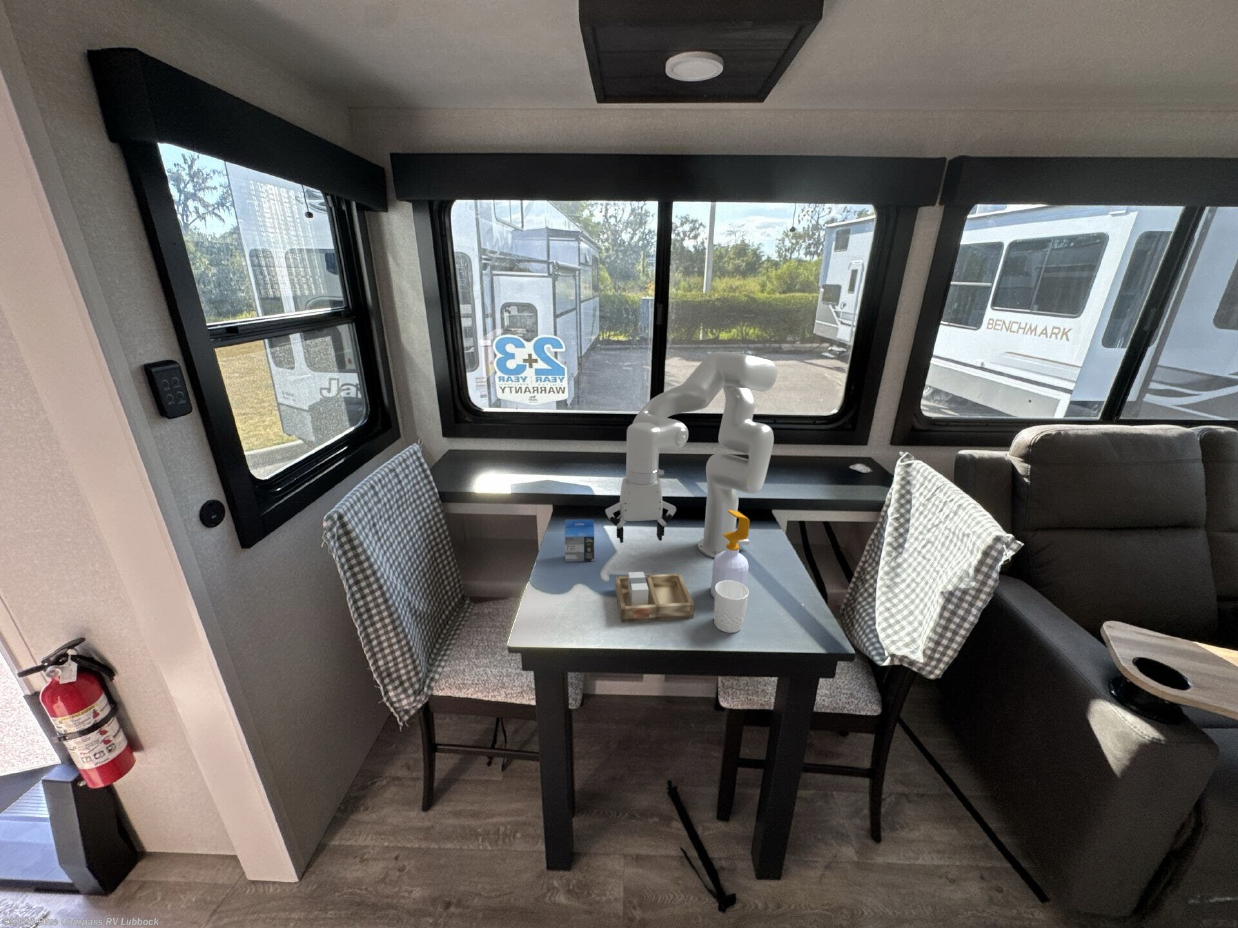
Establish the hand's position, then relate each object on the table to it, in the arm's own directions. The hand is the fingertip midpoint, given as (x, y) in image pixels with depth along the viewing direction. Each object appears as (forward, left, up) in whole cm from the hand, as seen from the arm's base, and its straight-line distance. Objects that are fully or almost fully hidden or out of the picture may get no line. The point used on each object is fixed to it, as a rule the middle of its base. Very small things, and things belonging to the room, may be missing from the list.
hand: (640, 539), depth 118 cm
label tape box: (+14, -23, -19) cm, 33 cm away
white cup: (-21, +11, -19) cm, 30 cm away
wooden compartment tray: (-4, +1, -19) cm, 19 cm away
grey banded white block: (0, +1, -18) cm, 18 cm away
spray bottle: (-25, -1, -19) cm, 31 cm away
